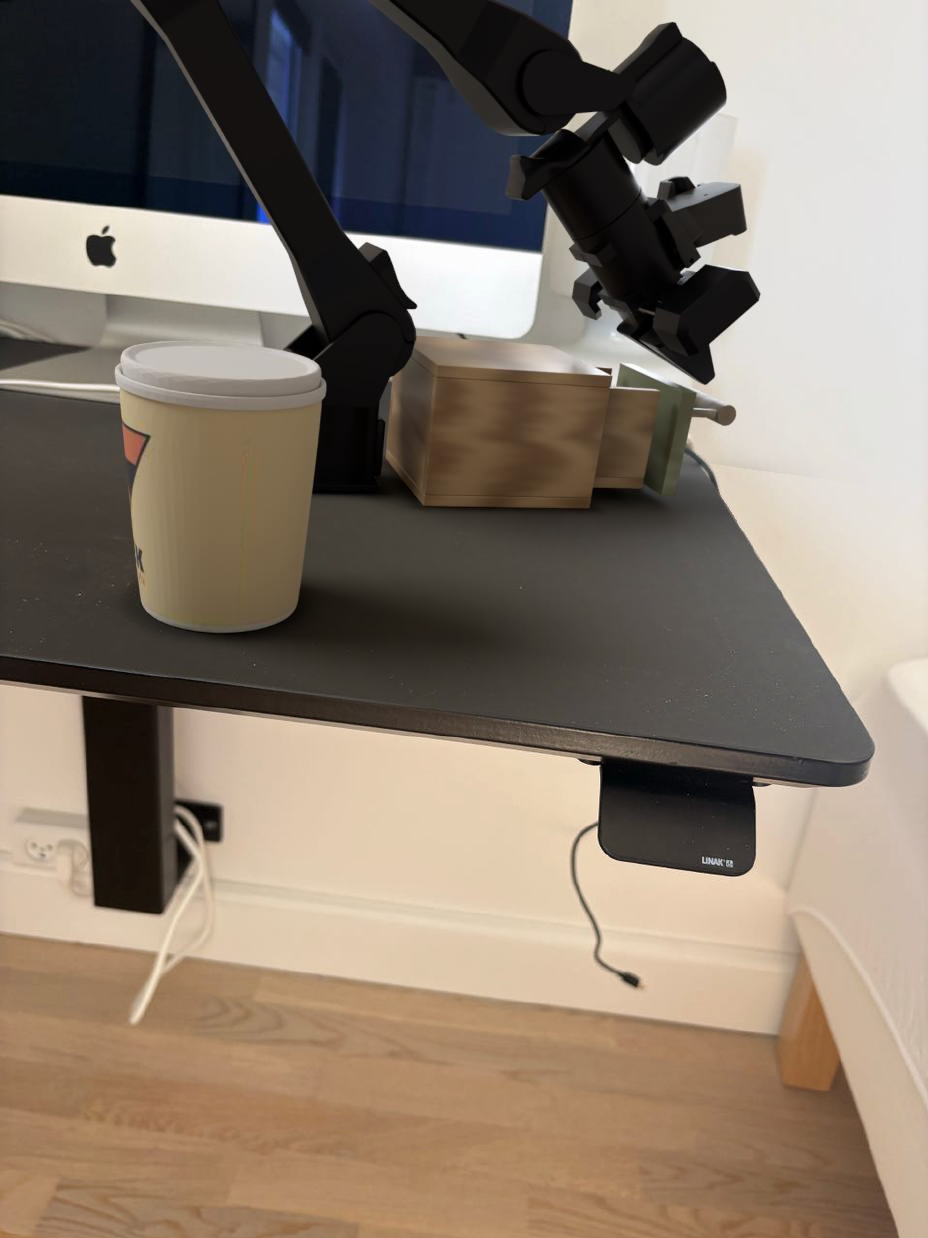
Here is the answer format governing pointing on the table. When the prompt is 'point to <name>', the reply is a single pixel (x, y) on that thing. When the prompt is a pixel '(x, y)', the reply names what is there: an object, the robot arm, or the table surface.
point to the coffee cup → (219, 478)
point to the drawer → (650, 429)
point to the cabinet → (496, 424)
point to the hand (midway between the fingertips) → (708, 380)
